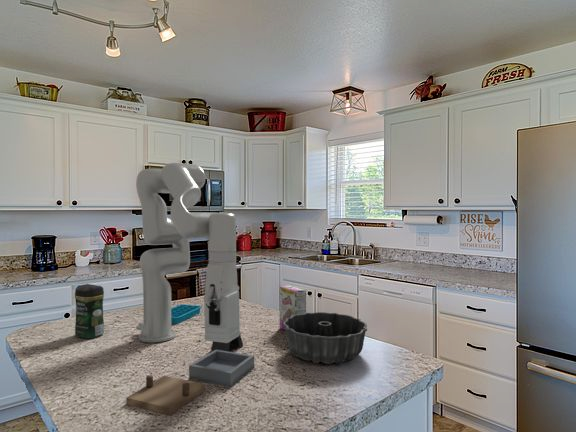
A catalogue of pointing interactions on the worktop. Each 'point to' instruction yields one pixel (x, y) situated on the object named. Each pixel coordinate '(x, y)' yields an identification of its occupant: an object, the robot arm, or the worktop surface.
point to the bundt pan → (325, 336)
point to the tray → (221, 367)
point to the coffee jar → (89, 311)
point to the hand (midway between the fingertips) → (222, 320)
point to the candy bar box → (291, 302)
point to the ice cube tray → (183, 312)
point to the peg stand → (165, 394)
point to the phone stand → (228, 345)
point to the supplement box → (224, 320)
